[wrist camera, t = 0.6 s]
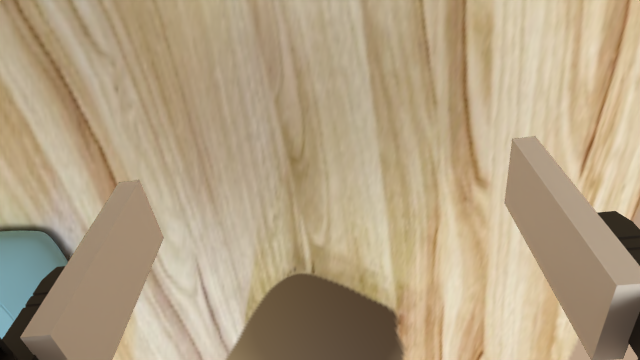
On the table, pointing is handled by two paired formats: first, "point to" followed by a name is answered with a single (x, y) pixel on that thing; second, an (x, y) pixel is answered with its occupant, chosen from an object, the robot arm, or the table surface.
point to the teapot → (23, 270)
